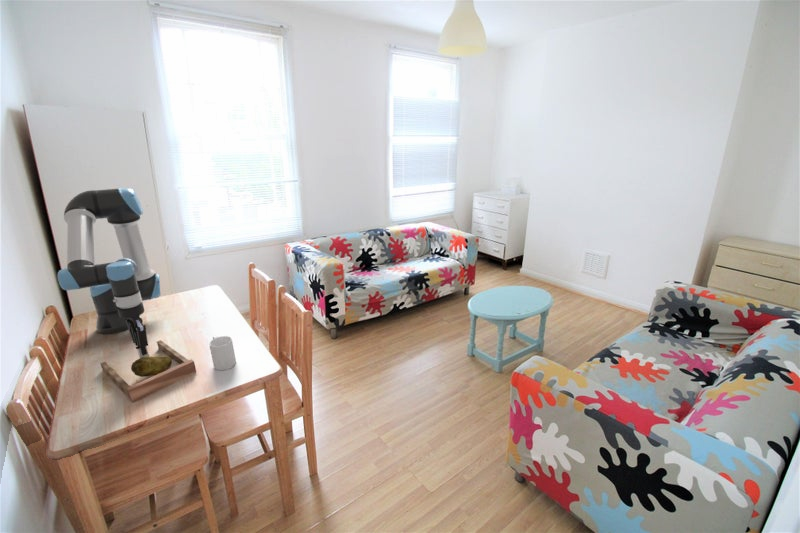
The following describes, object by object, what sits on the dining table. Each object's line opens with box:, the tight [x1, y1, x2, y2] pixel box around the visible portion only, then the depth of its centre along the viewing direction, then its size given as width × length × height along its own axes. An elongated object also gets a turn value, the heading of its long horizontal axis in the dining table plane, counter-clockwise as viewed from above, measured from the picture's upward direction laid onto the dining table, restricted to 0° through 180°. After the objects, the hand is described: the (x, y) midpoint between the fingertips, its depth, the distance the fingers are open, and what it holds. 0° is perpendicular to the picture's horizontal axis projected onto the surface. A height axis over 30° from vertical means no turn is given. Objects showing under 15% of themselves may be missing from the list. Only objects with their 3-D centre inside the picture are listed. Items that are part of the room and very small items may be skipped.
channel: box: [100, 339, 197, 403], centre depth 140 cm, size 30×21×5 cm
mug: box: [208, 335, 237, 371], centre depth 144 cm, size 12×8×10 cm, turn 43°
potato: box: [130, 355, 173, 378], centre depth 138 cm, size 8×13×8 cm, turn 132°
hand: (145, 360), depth 140 cm, fingers closed
